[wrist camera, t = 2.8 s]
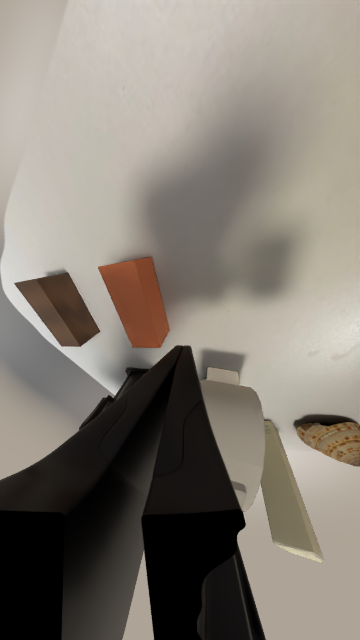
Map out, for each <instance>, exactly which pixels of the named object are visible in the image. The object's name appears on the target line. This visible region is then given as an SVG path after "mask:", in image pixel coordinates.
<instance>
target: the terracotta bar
mask: <svg viewBox="0 0 360 640" xmlns="http://www.w3.org/2000/svg"><path fill="white" fill-rule="evenodd" d="M98 269H99V271H100V273H101V275H102V278H103V280H104V282H105V285H106V287H107V289H108V292H109V294H110V296H111V299H112V301H113V303H114V305H115V308H116V310H117V312H118V315H119V317H120V319H121V322H122V324H123V326H124V329H125V331H126V333H127V335H128V338H129V340H130V342H131V345H132V347H143V348H161V346H162V344H163V342H164V340H165V338H166V336H167V334H168V332H169V326H168V322H167V318H166V314H165V310H164V306H163V302H162V297H161V293H160V289H159V285H158V281H157V277H156V273H155V269H154V265H153V261H152V257H147V258H142V259H136V260H131V261H126V262H121V263H116V264H110V265H105V266H100V267H98Z"/></svg>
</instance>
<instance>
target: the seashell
mask: <svg viewBox="0 0 360 640" xmlns="http://www.w3.org/2000/svg"><path fill="white" fill-rule="evenodd" d="M297 434H298V436H299V438H300V439H301V440H302V441H303V442H304V443H305V444H307V445H308V446H310V447H312V448H314V449H316V450H318V451H320V452H322V453H324V454H325V455H327V456H330V457H332V458H333V459H335V460H338V461H341V462H344V463H347V464H350V465H353V466H360V426H359V425H358V424H356V423H351V422H344V423H340V424H335V425H332V426H329V427H327V426H323V425H321V424H320V423H317V422H316V423H313V424H312V423H307V424H303V425H300V426H298V429H297Z"/></svg>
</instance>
